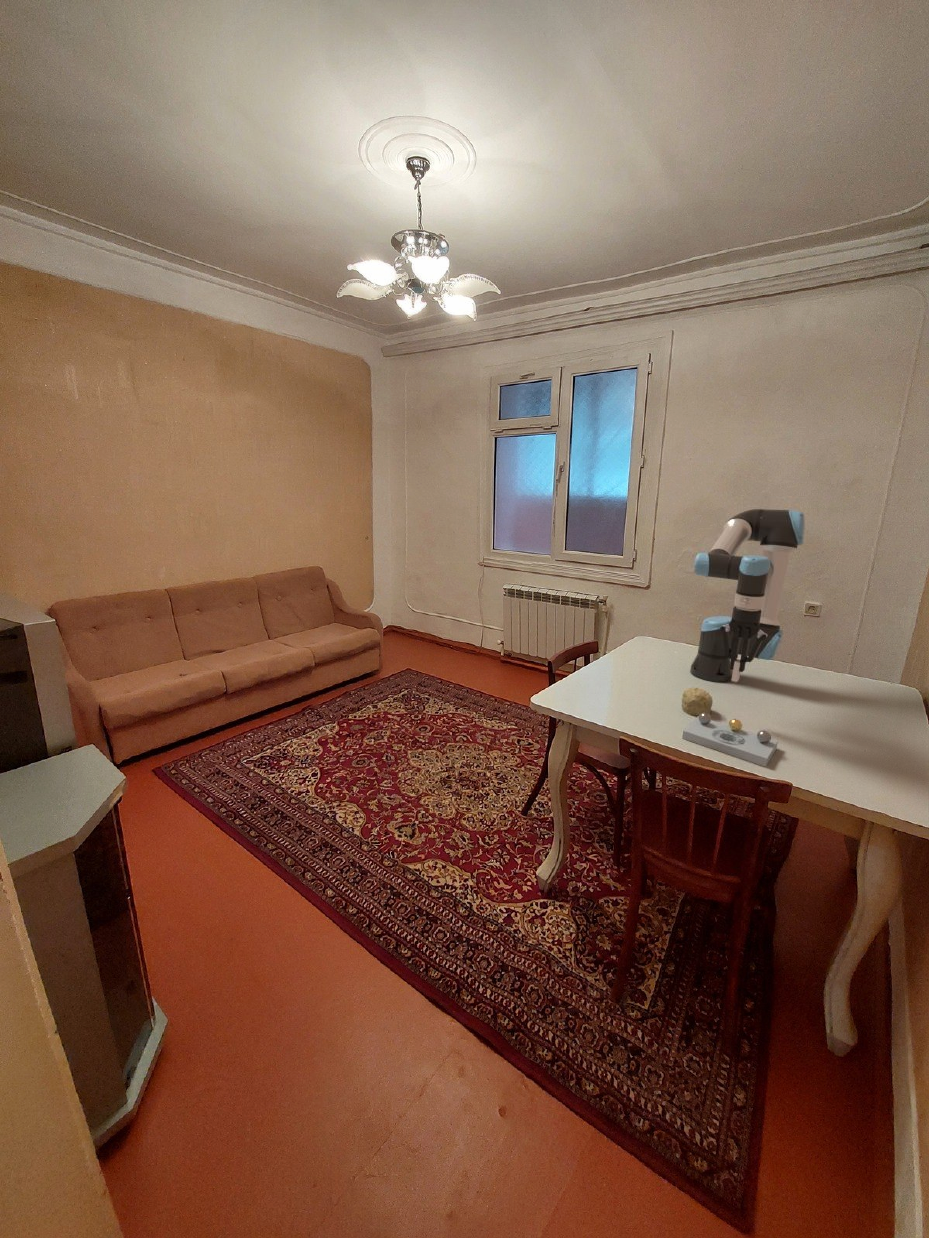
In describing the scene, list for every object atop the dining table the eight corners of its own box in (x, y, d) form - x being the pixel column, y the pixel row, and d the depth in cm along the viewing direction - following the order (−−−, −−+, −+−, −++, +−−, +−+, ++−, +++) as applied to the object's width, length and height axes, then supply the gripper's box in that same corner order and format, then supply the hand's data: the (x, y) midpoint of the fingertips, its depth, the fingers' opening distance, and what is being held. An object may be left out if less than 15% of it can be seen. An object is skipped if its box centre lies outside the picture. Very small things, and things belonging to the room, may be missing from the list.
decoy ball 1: (700, 719, 156) (701, 709, 155) (711, 723, 153) (713, 713, 152) (696, 723, 153) (697, 713, 152) (708, 727, 151) (709, 716, 150)
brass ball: (729, 726, 152) (731, 715, 151) (742, 730, 150) (744, 719, 149) (726, 730, 149) (728, 719, 148) (739, 734, 147) (741, 723, 146)
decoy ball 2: (757, 737, 145) (759, 726, 144) (771, 742, 143) (773, 731, 142) (754, 742, 143) (756, 731, 142) (768, 746, 141) (770, 735, 140)
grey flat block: (697, 723, 159) (698, 716, 158) (776, 748, 145) (778, 740, 144) (682, 738, 149) (683, 730, 149) (765, 766, 135) (767, 758, 135)
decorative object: (678, 714, 172) (670, 695, 167) (700, 696, 174) (693, 677, 168) (699, 728, 165) (692, 709, 160) (722, 710, 166) (715, 690, 161)
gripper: (720, 606, 152) (709, 678, 159) (769, 614, 144) (755, 689, 151) (728, 601, 157) (716, 671, 164) (775, 609, 149) (761, 682, 156)
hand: (735, 679), depth 158 cm, fingers closed
